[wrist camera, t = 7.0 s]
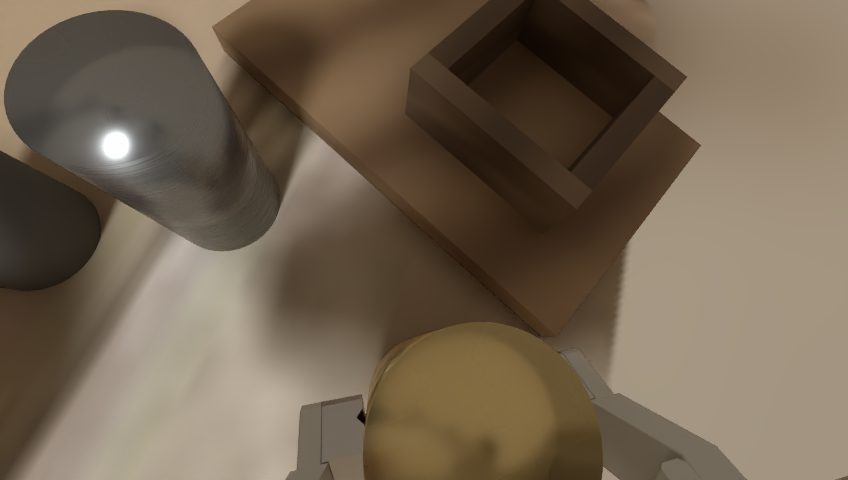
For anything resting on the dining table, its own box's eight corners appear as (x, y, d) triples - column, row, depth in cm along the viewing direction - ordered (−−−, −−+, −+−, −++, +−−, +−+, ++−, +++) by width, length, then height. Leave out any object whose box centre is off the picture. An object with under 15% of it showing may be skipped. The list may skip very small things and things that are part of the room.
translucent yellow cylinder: (343, 401, 14) (308, 461, 7) (424, 311, 16) (472, 275, 8) (433, 490, 14) (504, 660, 6) (509, 390, 15) (646, 432, 8)
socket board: (224, 50, 19) (179, -36, 15) (394, -70, 22) (398, -170, 18) (542, 337, 17) (596, 332, 13) (678, 159, 20) (758, 108, 16)
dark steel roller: (150, 202, 17) (-38, 80, 9) (232, 137, 18) (126, -18, 10) (221, 272, 16) (85, 204, 9) (301, 201, 18) (242, 87, 10)
